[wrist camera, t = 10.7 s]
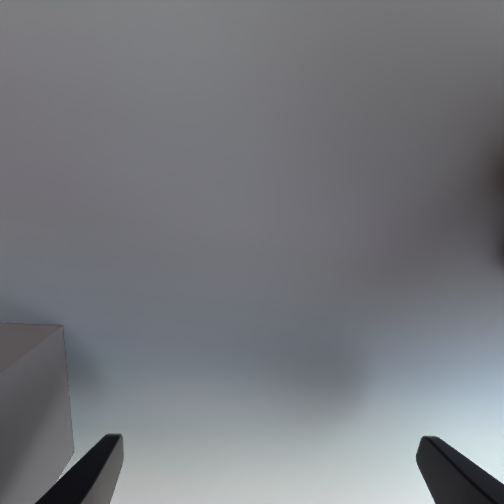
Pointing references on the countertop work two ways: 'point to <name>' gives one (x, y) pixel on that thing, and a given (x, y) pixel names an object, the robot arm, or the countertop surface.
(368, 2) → the countertop surface
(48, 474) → the block
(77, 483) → the robot arm
